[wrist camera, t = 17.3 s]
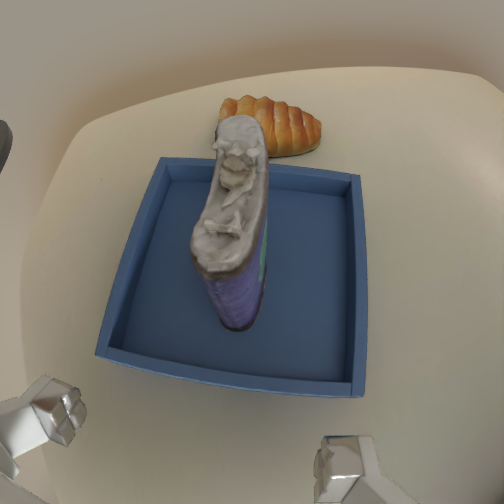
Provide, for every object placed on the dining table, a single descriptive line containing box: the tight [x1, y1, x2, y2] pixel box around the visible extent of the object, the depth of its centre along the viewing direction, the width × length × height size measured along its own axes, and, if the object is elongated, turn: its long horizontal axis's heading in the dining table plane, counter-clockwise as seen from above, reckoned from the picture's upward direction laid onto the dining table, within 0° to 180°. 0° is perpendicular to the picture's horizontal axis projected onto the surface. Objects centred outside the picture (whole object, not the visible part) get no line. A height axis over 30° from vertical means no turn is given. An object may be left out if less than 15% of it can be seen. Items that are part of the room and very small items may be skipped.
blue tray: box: [95, 157, 368, 398], centre depth 20 cm, size 16×16×3 cm
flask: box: [190, 115, 269, 333], centre depth 16 cm, size 9×3×11 cm, turn 176°
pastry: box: [218, 95, 321, 158], centre depth 26 cm, size 9×7×4 cm
